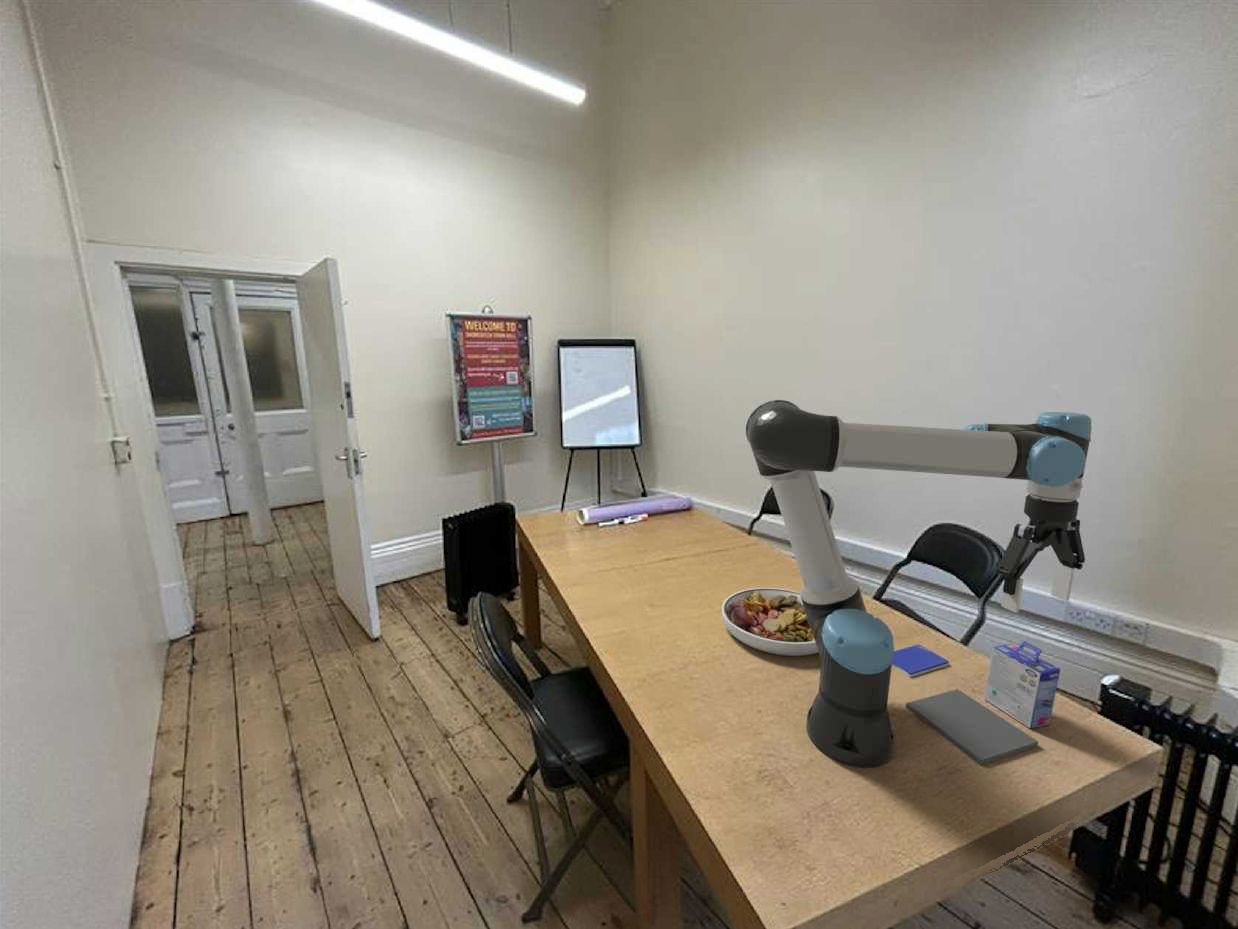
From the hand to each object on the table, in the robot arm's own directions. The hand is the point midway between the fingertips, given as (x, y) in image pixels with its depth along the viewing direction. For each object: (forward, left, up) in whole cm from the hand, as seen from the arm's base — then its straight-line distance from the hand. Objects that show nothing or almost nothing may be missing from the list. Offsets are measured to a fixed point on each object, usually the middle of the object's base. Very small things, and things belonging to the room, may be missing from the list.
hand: (1035, 603), depth 99 cm
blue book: (-5, +20, -24) cm, 32 cm away
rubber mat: (-13, 0, -24) cm, 27 cm away
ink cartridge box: (0, 0, -24) cm, 24 cm away
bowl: (-26, +43, -24) cm, 56 cm away
